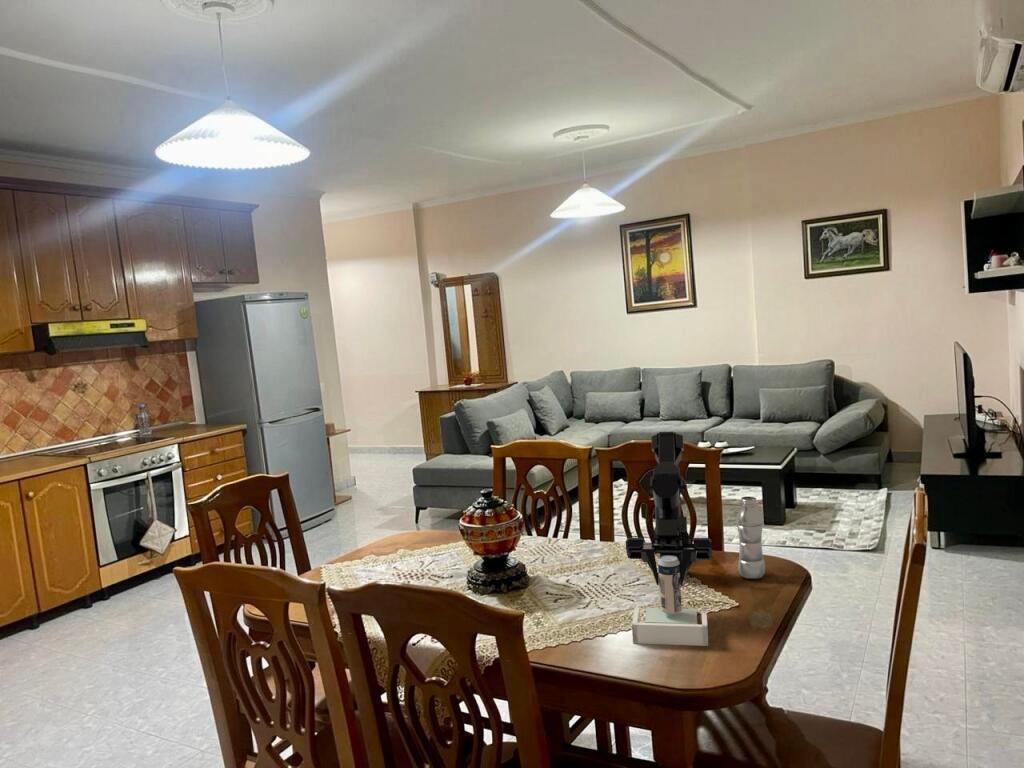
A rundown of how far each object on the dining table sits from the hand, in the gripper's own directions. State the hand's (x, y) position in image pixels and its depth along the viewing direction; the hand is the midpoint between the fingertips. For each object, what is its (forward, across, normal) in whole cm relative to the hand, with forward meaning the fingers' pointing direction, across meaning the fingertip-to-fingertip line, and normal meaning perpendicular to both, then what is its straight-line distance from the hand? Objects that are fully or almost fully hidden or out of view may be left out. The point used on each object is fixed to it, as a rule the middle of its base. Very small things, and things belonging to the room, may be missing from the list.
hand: (669, 584), depth 160 cm
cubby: (+11, 0, 0) cm, 11 cm away
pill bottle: (+4, 0, +6) cm, 7 cm away
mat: (+5, 0, +6) cm, 8 cm away
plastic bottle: (-13, +19, +25) cm, 34 cm away
